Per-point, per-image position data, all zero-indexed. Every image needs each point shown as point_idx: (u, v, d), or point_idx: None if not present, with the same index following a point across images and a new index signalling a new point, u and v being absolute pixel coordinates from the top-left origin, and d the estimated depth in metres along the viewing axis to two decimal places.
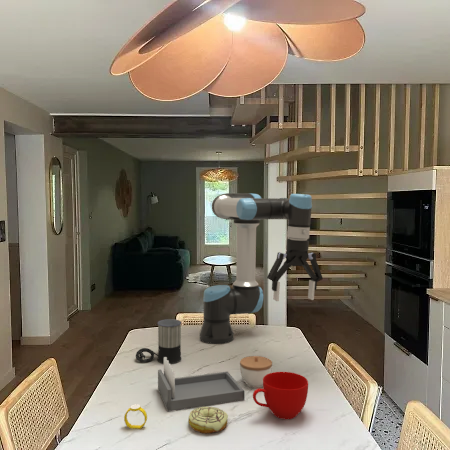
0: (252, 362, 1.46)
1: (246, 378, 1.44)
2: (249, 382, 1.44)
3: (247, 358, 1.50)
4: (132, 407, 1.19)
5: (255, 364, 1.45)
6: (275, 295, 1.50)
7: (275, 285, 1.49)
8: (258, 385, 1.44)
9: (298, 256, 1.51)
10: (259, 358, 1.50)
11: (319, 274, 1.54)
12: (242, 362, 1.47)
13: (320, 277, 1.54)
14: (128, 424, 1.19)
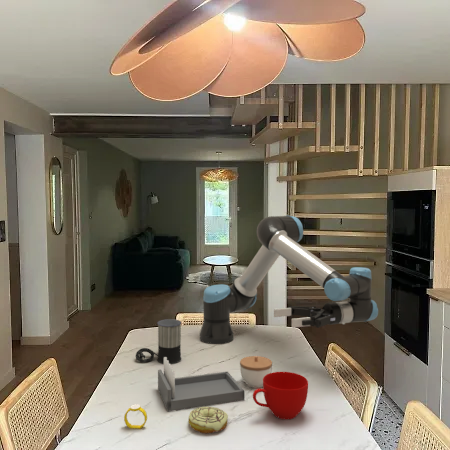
0: (252, 362, 1.46)
1: (246, 378, 1.44)
2: (249, 382, 1.44)
3: (247, 358, 1.50)
4: (132, 407, 1.19)
5: (255, 364, 1.45)
6: (297, 323, 1.44)
7: None
8: (258, 385, 1.44)
9: None
10: (259, 358, 1.50)
11: None
12: (242, 362, 1.47)
13: None
14: (128, 424, 1.19)
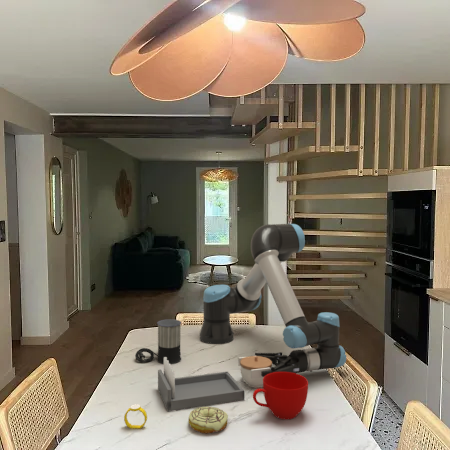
0: (252, 362, 1.46)
1: (246, 378, 1.44)
2: (249, 382, 1.44)
3: (247, 358, 1.50)
4: (132, 407, 1.19)
5: (255, 364, 1.45)
6: (256, 374, 1.41)
7: None
8: (258, 385, 1.44)
9: None
10: (259, 358, 1.50)
11: None
12: (242, 362, 1.47)
13: None
14: (128, 424, 1.19)
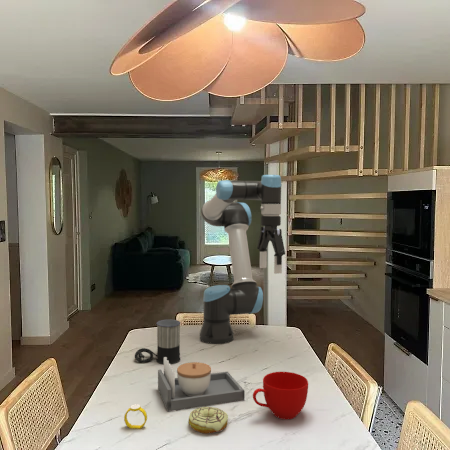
0: (189, 369, 1.37)
1: (182, 386, 1.35)
2: (185, 390, 1.35)
3: (186, 364, 1.41)
4: (132, 407, 1.19)
5: (192, 371, 1.36)
6: None
7: None
8: (195, 394, 1.35)
9: (268, 230, 1.68)
10: (198, 364, 1.41)
11: (277, 249, 1.60)
12: (179, 369, 1.38)
13: (278, 252, 1.60)
14: (128, 424, 1.19)
